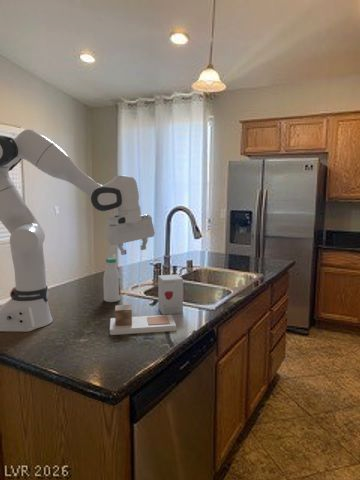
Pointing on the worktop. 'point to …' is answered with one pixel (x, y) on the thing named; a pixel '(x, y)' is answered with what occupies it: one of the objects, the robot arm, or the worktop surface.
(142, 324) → the white rectangular board
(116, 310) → the walnut cap
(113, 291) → the milk bottle
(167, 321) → the terracotta tile
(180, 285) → the supplement box
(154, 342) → the worktop surface
